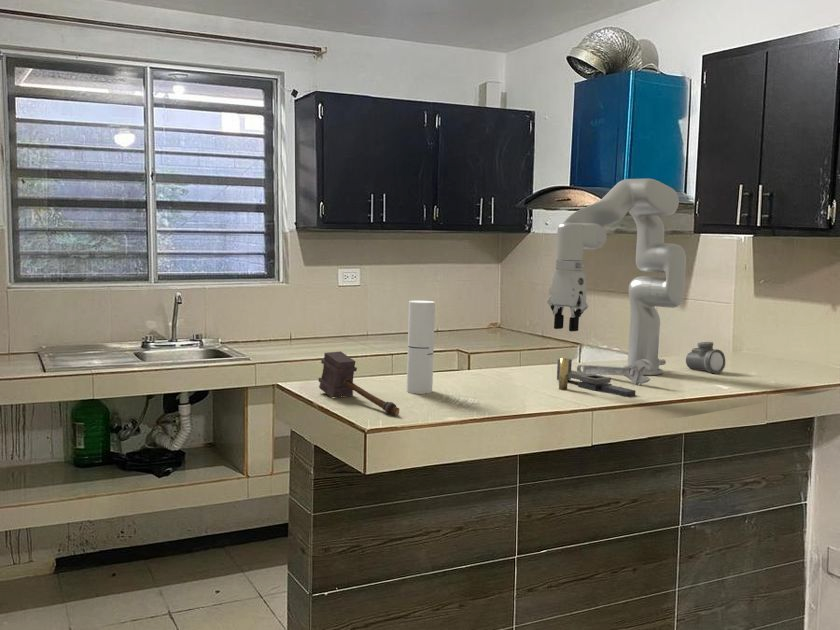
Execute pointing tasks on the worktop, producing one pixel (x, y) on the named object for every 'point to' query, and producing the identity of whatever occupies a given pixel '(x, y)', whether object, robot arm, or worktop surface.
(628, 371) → the wrench
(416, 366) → the cylindrical container
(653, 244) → the robot arm
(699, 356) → the pipe fitting
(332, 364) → the hammer
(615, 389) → the bar
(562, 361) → the pin
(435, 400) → the worktop surface
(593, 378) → the chain end
